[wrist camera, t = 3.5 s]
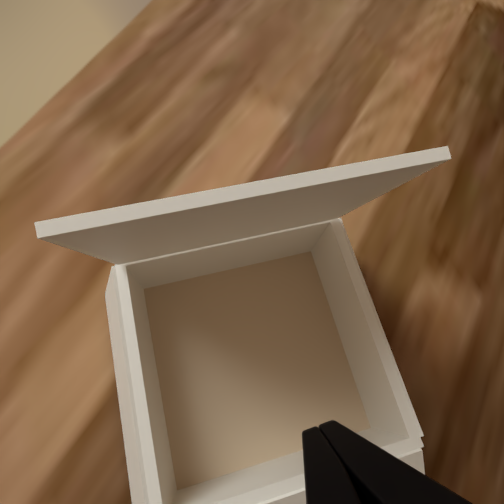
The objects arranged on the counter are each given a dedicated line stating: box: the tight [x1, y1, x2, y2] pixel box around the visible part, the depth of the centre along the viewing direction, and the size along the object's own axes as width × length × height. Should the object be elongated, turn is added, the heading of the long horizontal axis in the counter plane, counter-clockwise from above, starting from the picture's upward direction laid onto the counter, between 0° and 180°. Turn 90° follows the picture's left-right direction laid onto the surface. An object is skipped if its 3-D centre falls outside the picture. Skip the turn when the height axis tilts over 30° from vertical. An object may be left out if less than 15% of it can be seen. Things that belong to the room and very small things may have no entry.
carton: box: [105, 218, 425, 504], centre depth 18 cm, size 17×15×5 cm
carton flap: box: [34, 146, 451, 265], centre depth 14 cm, size 1×12×9 cm, turn 104°
